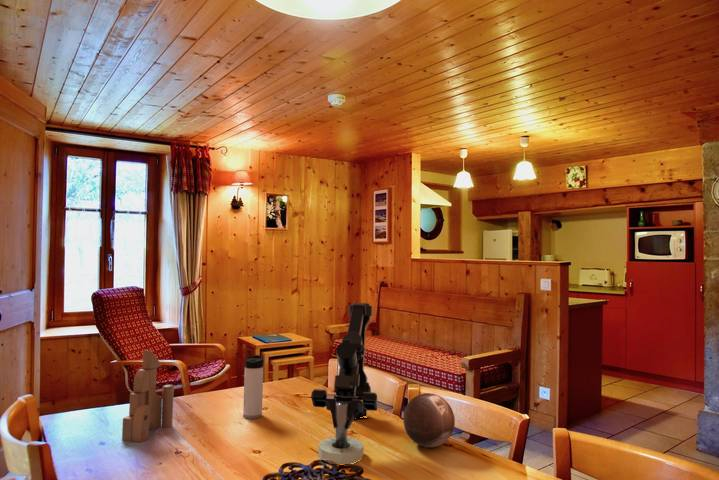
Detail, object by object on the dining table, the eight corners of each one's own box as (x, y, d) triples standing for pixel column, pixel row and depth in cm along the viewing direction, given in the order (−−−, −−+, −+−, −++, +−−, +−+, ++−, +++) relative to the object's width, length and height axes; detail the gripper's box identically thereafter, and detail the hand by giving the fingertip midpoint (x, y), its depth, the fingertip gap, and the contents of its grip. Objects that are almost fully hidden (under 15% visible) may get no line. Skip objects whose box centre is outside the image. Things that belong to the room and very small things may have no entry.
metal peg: (341, 447, 136) (342, 400, 136) (349, 451, 133) (350, 403, 134) (332, 450, 134) (334, 403, 134) (340, 454, 131) (341, 405, 132)
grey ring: (354, 445, 141) (354, 435, 141) (368, 462, 130) (369, 451, 130) (314, 450, 137) (314, 439, 137) (325, 467, 126) (326, 456, 126)
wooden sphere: (436, 460, 132) (437, 405, 132) (392, 445, 142) (393, 394, 142) (463, 445, 143) (464, 394, 144) (421, 432, 153) (422, 384, 153)
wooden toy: (141, 443, 139) (144, 355, 140) (121, 440, 141) (125, 353, 142) (174, 425, 154) (177, 346, 155) (156, 423, 156) (159, 344, 157)
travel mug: (264, 413, 168) (266, 355, 168) (258, 419, 161) (260, 359, 162) (247, 412, 168) (248, 354, 169) (240, 418, 162) (242, 358, 162)
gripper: (313, 360, 139) (303, 411, 128) (377, 364, 137) (373, 416, 126) (318, 381, 147) (309, 431, 136) (379, 385, 145) (375, 435, 133)
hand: (340, 428), depth 132 cm, fingers closed on metal peg, 3 cm apart
